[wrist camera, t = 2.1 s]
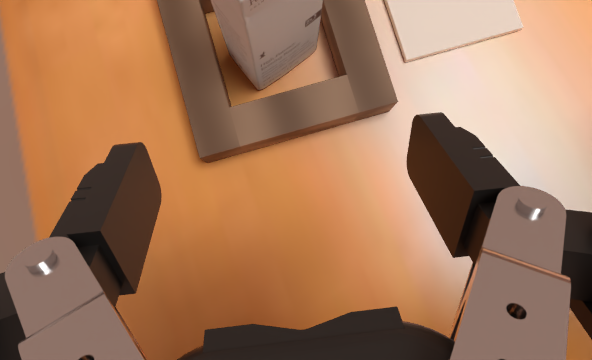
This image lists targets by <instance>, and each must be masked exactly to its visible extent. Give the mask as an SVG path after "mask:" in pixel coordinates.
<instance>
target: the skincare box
mask: <svg viewBox="0 0 592 360" xmlns="http://www.w3.org/2000/svg"><path fill="white" fill-rule="evenodd" d="M211 3H212V6H213V8H214V11H215V14H216V17H217V20H218V23H219V26H220V28H221V31H222V34H223V37H224V40H225V43H226V46H227V49H228V52H229V54H230V56H231V57H232V58H233V59H234V61H235V62H236V63H237V65H238V66H239V67H240V68H241V70H242V71H243V72H244V73H245V75H246V76H247V77H248V78H249V80H250V81H251V82H252V83H253V85H254V86H255V87H256V88H257V89H258V90H261V89H264V88H265V87H267V86H269V85H270V84H272V83H273V82H275V81H276V80H278V79H279V78H281V77H282V76H283V75H285V74H286V73H287V72H289V71H290V70H292V69H293V68H294V67H296V66H297V65H298V64H299V63H301V62H302V61H303V60H305V59H306V58H307V57H308V56H310V55H311V54H312V53H313V52H314V51H315V50H316V47H317V39H318V33H319V25H320V19H321V11H322V3H323V0H211Z"/></svg>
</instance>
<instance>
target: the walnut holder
mask: <svg viewBox="0 0 592 360" xmlns="http://www.w3.org/2000/svg"><path fill="white" fill-rule="evenodd" d="M157 2H158V6H159V9H160V13H161V17H162V20H163V24H164V28H165V31H166V35H167V39H168V43H169V46H170V50H171V54H172V57H173V61H174V65H175V68H176V72H177V76H178V79H179V83H180V87H181V90H182V94H183V98H184V102H185V105H186V109H187V113H188V116H189V120H190V124H191V127H192V131H193V135H194V138H195V142H196V146H197V149H198V153H199V157H200V158H201V159H202V160H204V161H205V162H207V163H210V162H213V161H217V160H220V159H224V158H227V157H231V156H234V155H238V154H241V153H245V152H248V151H252V150H255V149H259V148H262V147H266V146H269V145H273V144H276V143H280V142H283V141H287V140H290V139H294V138H297V137H301V136H304V135H308V134H311V133H315V132H318V131H322V130H325V129H329V128H332V127H336V126H339V125H343V124H346V123H350V122H353V121H357V120H360V119H364V118H367V117H371V116H374V115H378V114H381V113H385V112H388V111H390V110H391V109H392V107H393V106H394V105H395V104H396V103H397V102H398V100H397V97H396V94H395V91H394V88H393V85H392V82H391V79H390V76H389V73H388V70H387V67H386V64H385V61H384V58H383V55H382V52H381V49H380V46H379V43H378V40H377V37H376V33H375V30H374V27H373V24H372V21H371V18H370V15H369V12H368V9H367V6H366V3H365V0H323V3H322V11H321V21H322V24H323V27H324V30H325V33H326V36H327V40H328V43H329V46H330V49H331V52H332V55H333V59H334V62H335V65H336V68H337V71H338V75H339V77H336V78H333V79H329V80H326V81H322V82H319V83H315V84H311V85H308V86H304V87H301V88H297V89H294V90H290V91H286V92H283V93H279V94H276V95H272V96H269V97H265V98H261V99H258V100H254V101H251V102H247V103H244V104H240V105H236V106H233V107H231V103H230V100H229V96H228V93H227V89H226V86H225V82H224V79H223V75H222V72H221V68H220V65H219V61H218V58H217V54H216V50H215V47H214V43H213V40H212V36H211V33H210V29H209V26H208V22H207V19H206V15H205V13H209V12H213V11H214V8H213V6H212V3H211V0H157Z"/></svg>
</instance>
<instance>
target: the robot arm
mask: <svg viewBox="0 0 592 360" xmlns="http://www.w3.org/2000/svg"><path fill="white" fill-rule="evenodd" d="M407 170H408V174H409V177H410V179H411V181H412V183H413V185H414V186H415V188H416V190H417V192H418V194H419V196H420V197H421V199H422V201H423V203H424V205H425V207H426V209H427V210H428V212H429V214H430V216H431V218H432V220H433V222H434V223H435V225H436V227H437V229H438V231H439V233H440V235H441V236H442V238H443V240H444V242H445V244H446V246H447V247H448V249H449V251H450V253H451V255H452V257H453V258H455V257H464V256H470V258H471V260H472V261H473V263H472V266H471V269H470V272H469V275H468V278H467V281H466V284H465V288H464V291H463V294H462V297H461V300H460V303H459V307H458V310H457V313H456V316H455V319H454V322H453V325H452V328H451V331H450V334H449V337H446V336H445V335H443V334H441V333H439V332H437V331H434V330H432V329H430V328H427V327H424V326H421V325H418V324H414V323H410V322H403V321H402V319H401V316H400V313H399V311H398V308H397V307H390V308H382V309H374V310H365V311H357V312H350V313H347V314H345V315H342V316H340V317H337V318H335V319H332V320H329V321H327V322H324V323H322V324H319V325H316V326H314V327H311V328H309V329H305V330H296V329H288V328H280V327H272V326H264V325H256V324H249V325H241V326H233V327H225V328H216V329H208V330H205V335H204V344H203V346H201V347H199V348H196V349H194V350H192V351H190V352H188V353H187V354H185V355H183V356H182V357H180V358H179V359H177V360H566V350H567V336H568V322H569V307H570V308H571V310H572V311H573V313H574V314H575V316H576V317H577V319H578V320H579V322H580V323H581V325H582V326H583V328H584V329H585V331H586V332H587V333H588V335H589V336H590V338H591V339H592V213H591V212H582V211H573V210H566V209H565V208H564V207H563V205H562V204H561V203H560V202H559V201H558V200H557V199H556V198H554V197H553V196H551V195H550V194H548V193H546V192H544V191H541V190H538V189H535V188H531V187H525V186H520V185H519V184H518V183H517V182H516V180H515V179H514V178H513V177H512V176H511V175H510V174H509V173H508V172H507V170H506V169H505V168H504V167H503V166H502V165H501V164H500V163H499V161H498V160H497V159H496V158H495V157H493V155H492V154H491V152H490V151H489V150H488V149H487V148H485V146H484V145H483V143H482V142H481V141H480V140H479V139H478V138H477V137H476V136H475V135H474V134H472V133H470V132H468V131H467V130H465V129H463V128H461V127H456V128H455V127H454V125H453V124H452V123H451V122H450V121H449V119H448V118H447V117H446V116H445V115H444V114H443V113H441V112H440V113H430V114H420V115H416V116H415V117H414V119H413V122H412V128H411V134H410V141H409V147H408V154H407ZM160 205H161V188H160V184H159V181H158V178H157V176H156V173H155V170H154V168H153V165H152V162H151V160H150V157H149V154H148V152H147V149H146V147H145V145H144V144H143V143H141V142H138V143H128V144H119V145H114V146H113V147H112V149H111V151H110V152H109V154H108V156H107V158H106V160H105V162H104V163H100V164H97V165H96V166H95V167H94V168H92V169H91V170H90V171H89V172H88V173H87V174H86V175H84V177H83V179H82V180H81V182H80V184H79V186H78V187H77V191H75V193H74V195H73V196H72V198H71V202H69V203H68V205H67V207H66V209H65V210H64V212H63V214H62V216H61V217H60V219H59V221H58V223H57V225H56V226H55V228H54V230H53V232H52V233H51V235H50V237H49V238H46V239H43V240H40V241H38V242H35V243H33V244H31V245H30V246H28V247H26V248H25V249H23V250H22V251H21V252H19V253H18V254H17V255H16V256H15V257H14V258H13V259H12V260H11V262H10V263H9V265H8V266H7V268H6V271H5V272H4V273H1V274H0V360H148V359H147V357H146V356H145V354H144V352H143V351H142V349H141V347H140V346H139V344H138V343H137V341H136V339H135V338H134V336H133V334H132V333H131V331H130V329H129V328H128V326H127V325H126V323H125V321H124V320H123V318H122V316H121V315H120V313H119V312H118V310H117V308H116V307H115V306H116V303H117V300H118V297H119V295H127V294H135V293H136V291H137V287H138V283H139V280H140V276H141V273H142V269H143V265H144V262H145V258H146V255H147V251H148V248H149V244H150V240H151V237H152V233H153V230H154V226H155V222H156V219H157V215H158V212H159V208H160Z"/></svg>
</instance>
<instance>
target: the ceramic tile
mask: <svg viewBox="0 0 592 360" xmlns="http://www.w3.org/2000/svg"><path fill="white" fill-rule="evenodd" d="M384 1H385V4H386V7H387V10H388V13H389V16H390V19H391V22H392V25H393V28H394V31H395V34H396V37H397V40H398V43H399V46H400V49H401V52H402V55H403V58H404V61H405V62H409V61H413V60H416V59H420V58H423V57H427V56H430V55H434V54H437V53H441V52H445V51H448V50H452V49H455V48H459V47H462V46H466V45H470V44H473V43H477V42H480V41H484V40H487V39H491V38H495V37H498V36H502V35H505V34H509V33H512V32H516V31H519V30H521V29H522V28H523V25H522V22H521V19H520V16H519V14H518V11H517V8H516V6H515V3H514V0H384Z"/></svg>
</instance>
